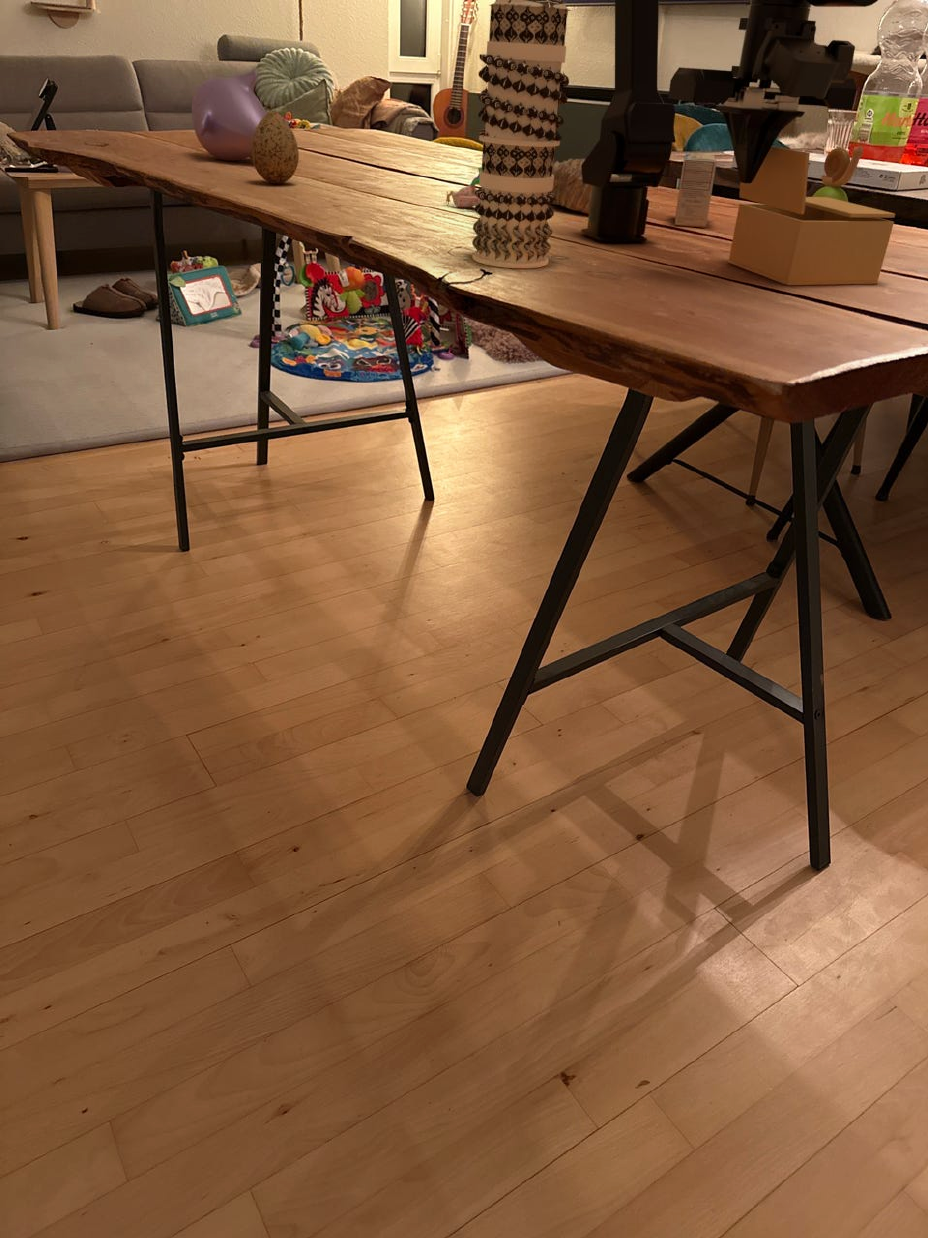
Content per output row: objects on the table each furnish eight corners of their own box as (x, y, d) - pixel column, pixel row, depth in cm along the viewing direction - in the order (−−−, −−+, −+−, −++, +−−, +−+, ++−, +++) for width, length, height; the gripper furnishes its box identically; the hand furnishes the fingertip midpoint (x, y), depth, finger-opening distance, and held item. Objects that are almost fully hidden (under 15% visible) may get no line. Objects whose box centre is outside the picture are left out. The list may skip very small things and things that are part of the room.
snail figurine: (829, 230, 135) (851, 137, 129) (796, 222, 140) (817, 132, 134) (855, 229, 138) (879, 138, 131) (823, 221, 142) (844, 133, 136)
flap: (804, 213, 96) (801, 214, 96) (742, 196, 106) (739, 197, 105) (809, 152, 93) (806, 152, 93) (745, 140, 102) (742, 140, 102)
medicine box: (705, 228, 130) (717, 159, 126) (673, 225, 131) (684, 157, 126) (704, 220, 137) (716, 154, 132) (674, 217, 138) (684, 152, 133)
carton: (787, 285, 100) (803, 212, 96) (728, 262, 109) (740, 195, 105) (877, 283, 103) (896, 213, 99) (812, 261, 113) (827, 196, 109)
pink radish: (438, 215, 135) (512, 213, 125) (435, 170, 133) (511, 163, 123) (469, 213, 139) (544, 210, 129) (467, 168, 137) (543, 162, 126)
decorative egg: (254, 186, 142) (249, 111, 136) (251, 179, 148) (247, 108, 142) (301, 187, 143) (299, 113, 138) (297, 181, 149) (295, 110, 144)
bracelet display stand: (455, 252, 105) (468, -15, 92) (528, 251, 108) (550, -8, 95) (489, 269, 98) (508, -17, 85) (566, 267, 101) (595, -9, 88)
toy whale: (217, 155, 178) (243, 68, 172) (296, 196, 166) (327, 104, 160) (156, 129, 167) (182, 35, 161) (236, 170, 155) (267, 71, 149)
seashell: (648, 194, 136) (622, 128, 130) (606, 234, 134) (577, 168, 128) (584, 199, 147) (557, 139, 141) (544, 236, 145) (515, 176, 139)
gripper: (741, -3, 81) (707, 192, 90) (915, 12, 87) (868, 195, 95) (679, 0, 90) (653, 177, 98) (840, 13, 96) (803, 180, 104)
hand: (745, 182), depth 99 cm, fingers closed
